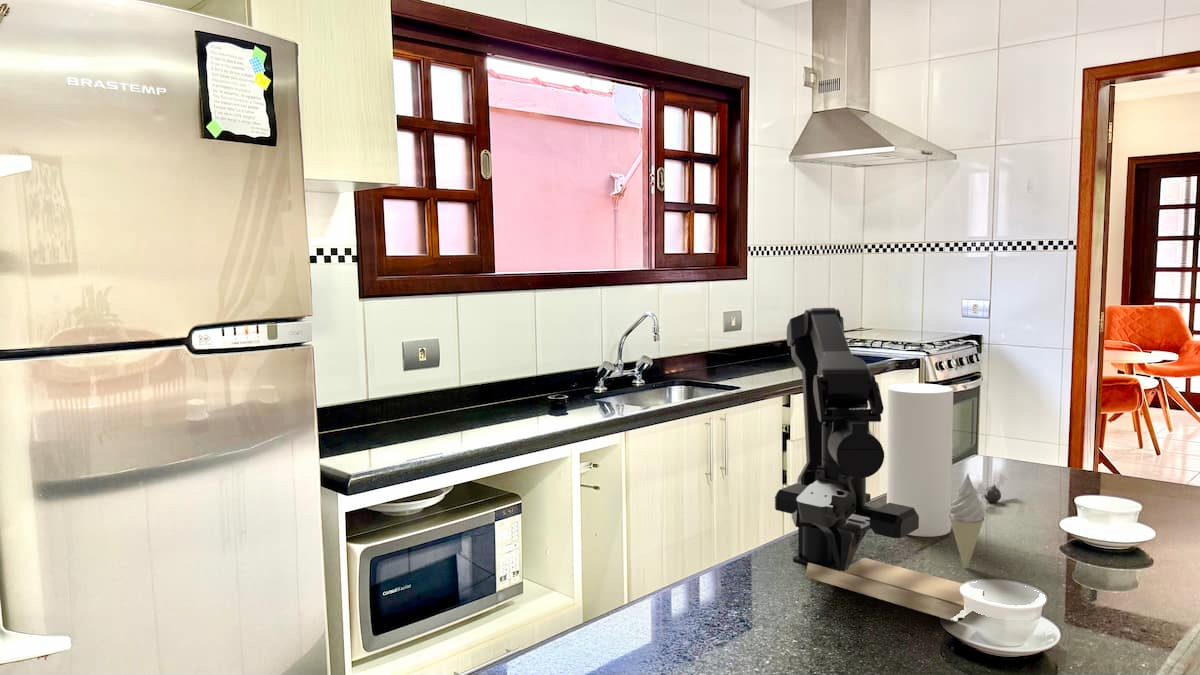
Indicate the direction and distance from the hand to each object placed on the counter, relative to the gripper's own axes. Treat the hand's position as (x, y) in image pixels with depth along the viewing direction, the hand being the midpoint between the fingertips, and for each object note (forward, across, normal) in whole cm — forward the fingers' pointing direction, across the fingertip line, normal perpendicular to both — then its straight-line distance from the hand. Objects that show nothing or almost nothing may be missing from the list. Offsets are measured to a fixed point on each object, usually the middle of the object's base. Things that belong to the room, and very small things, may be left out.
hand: (843, 570), depth 112 cm
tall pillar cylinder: (+6, -8, +40) cm, 41 cm away
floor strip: (+6, +4, +12) cm, 13 cm away
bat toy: (+6, -4, +63) cm, 63 cm away
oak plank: (+4, +4, +2) cm, 6 cm away
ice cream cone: (+6, +6, +26) cm, 27 cm away
